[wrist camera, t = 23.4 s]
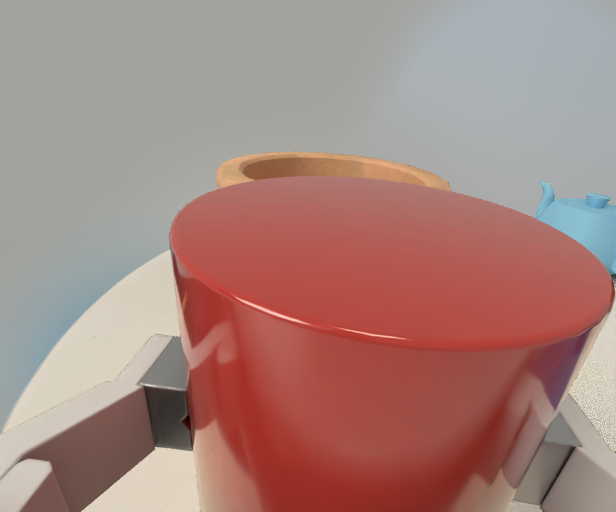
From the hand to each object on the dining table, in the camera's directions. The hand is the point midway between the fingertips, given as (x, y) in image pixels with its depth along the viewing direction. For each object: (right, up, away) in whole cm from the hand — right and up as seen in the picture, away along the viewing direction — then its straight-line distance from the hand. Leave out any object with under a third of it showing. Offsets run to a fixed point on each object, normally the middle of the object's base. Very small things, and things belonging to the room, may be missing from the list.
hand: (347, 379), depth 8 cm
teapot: (+39, +2, +46) cm, 60 cm away
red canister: (0, -5, +2) cm, 6 cm away
